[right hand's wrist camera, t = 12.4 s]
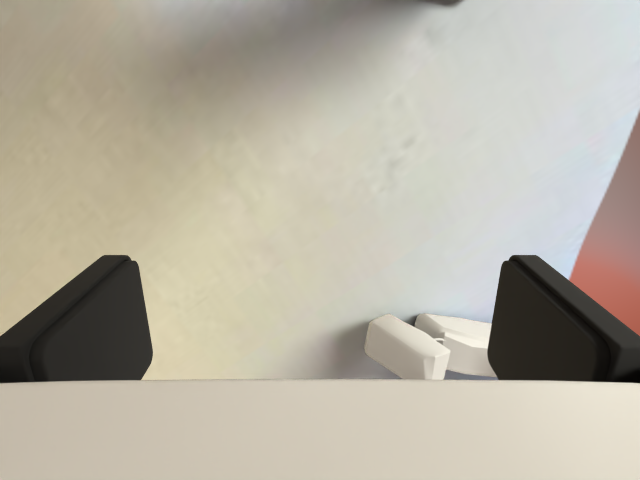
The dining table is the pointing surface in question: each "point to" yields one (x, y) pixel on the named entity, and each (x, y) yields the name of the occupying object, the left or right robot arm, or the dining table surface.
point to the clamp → (429, 346)
